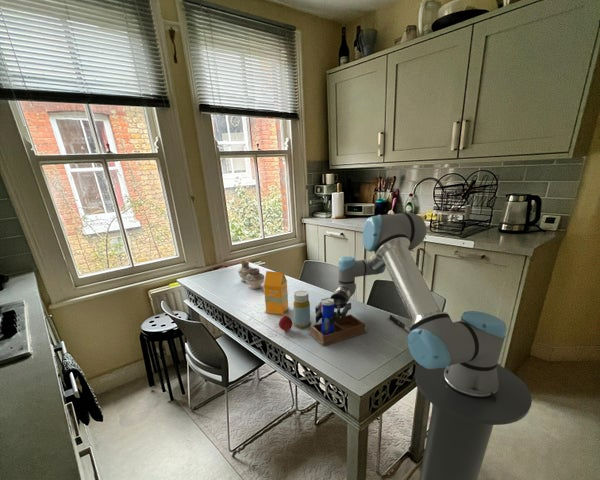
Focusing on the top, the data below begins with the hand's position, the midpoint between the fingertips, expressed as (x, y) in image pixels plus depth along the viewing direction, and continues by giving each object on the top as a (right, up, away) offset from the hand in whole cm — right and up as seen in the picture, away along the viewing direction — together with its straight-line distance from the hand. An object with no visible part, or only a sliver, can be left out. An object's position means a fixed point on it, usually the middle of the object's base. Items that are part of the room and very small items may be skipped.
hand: (323, 320), depth 123 cm
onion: (-15, -5, +14) cm, 21 cm away
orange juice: (-20, +3, +33) cm, 39 cm away
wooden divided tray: (+7, -6, +10) cm, 14 cm away
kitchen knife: (+35, -4, +13) cm, 37 cm away
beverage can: (+2, -6, +8) cm, 10 cm away
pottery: (-39, +19, +68) cm, 80 cm away
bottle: (-8, -3, +19) cm, 21 cm away
